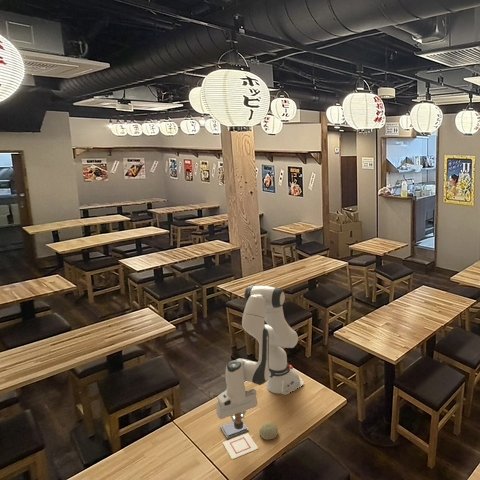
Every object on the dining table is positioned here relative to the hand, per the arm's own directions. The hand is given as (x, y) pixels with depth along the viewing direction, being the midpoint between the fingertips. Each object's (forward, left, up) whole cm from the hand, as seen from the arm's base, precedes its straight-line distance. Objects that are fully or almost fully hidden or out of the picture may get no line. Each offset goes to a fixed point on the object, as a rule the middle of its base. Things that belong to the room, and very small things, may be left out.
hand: (238, 419), depth 193 cm
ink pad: (-2, -12, -15) cm, 19 cm away
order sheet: (0, 0, -15) cm, 15 cm away
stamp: (0, 0, -4) cm, 4 cm away
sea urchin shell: (-16, 0, -16) cm, 22 cm away
